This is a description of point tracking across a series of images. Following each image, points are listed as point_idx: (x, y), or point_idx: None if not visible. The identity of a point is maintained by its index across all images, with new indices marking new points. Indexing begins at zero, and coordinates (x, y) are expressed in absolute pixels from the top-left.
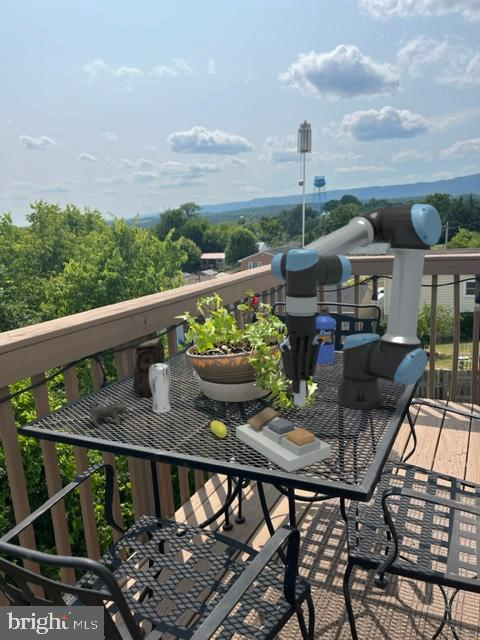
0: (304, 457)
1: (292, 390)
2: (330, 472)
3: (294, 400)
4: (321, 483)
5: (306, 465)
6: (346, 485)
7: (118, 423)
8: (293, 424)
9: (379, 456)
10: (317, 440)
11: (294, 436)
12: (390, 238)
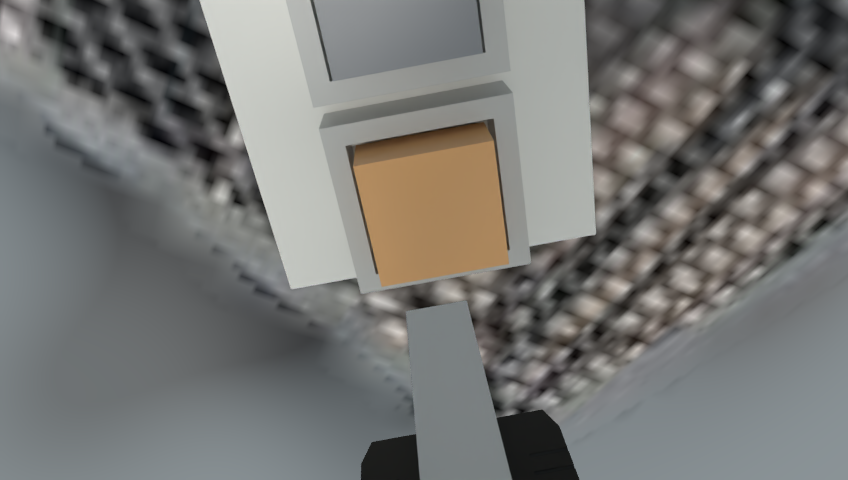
0: None
1: (361, 468)
2: (477, 322)
3: (409, 337)
4: (391, 374)
5: None
6: None
7: None
8: (473, 54)
9: (772, 293)
10: (518, 251)
11: (374, 236)
12: None
